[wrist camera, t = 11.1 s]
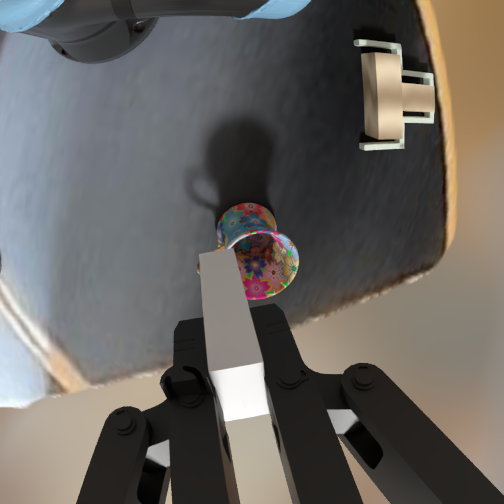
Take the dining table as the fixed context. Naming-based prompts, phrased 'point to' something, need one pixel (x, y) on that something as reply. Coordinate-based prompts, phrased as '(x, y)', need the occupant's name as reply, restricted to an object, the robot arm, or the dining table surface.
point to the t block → (390, 96)
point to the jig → (409, 119)
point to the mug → (257, 249)
